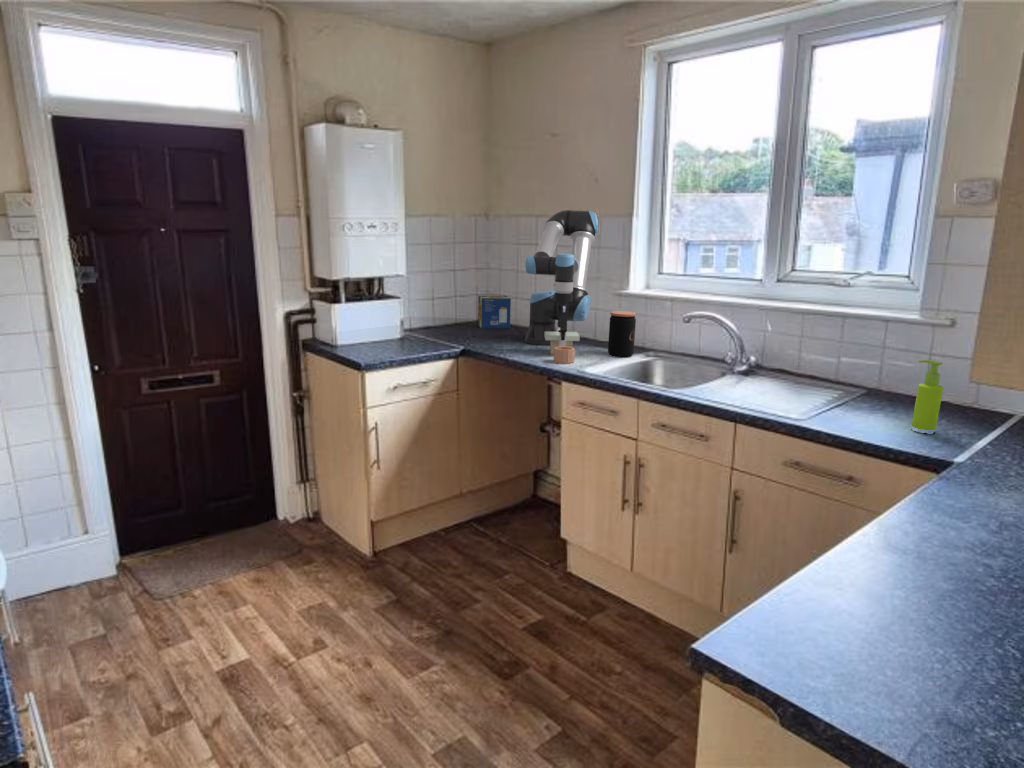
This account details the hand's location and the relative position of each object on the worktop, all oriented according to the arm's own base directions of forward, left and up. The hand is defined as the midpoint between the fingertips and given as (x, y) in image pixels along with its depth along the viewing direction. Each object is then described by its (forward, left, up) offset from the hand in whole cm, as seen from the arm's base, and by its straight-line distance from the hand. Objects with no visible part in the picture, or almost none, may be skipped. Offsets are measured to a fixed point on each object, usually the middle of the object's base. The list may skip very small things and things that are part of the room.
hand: (561, 345), depth 280 cm
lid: (0, 0, +3) cm, 3 cm away
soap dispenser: (+97, +94, -4) cm, 135 cm away
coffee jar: (0, +25, -4) cm, 25 cm away
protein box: (-67, -30, -4) cm, 74 cm away
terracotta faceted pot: (+16, 0, -4) cm, 16 cm away
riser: (0, 0, -4) cm, 4 cm away
